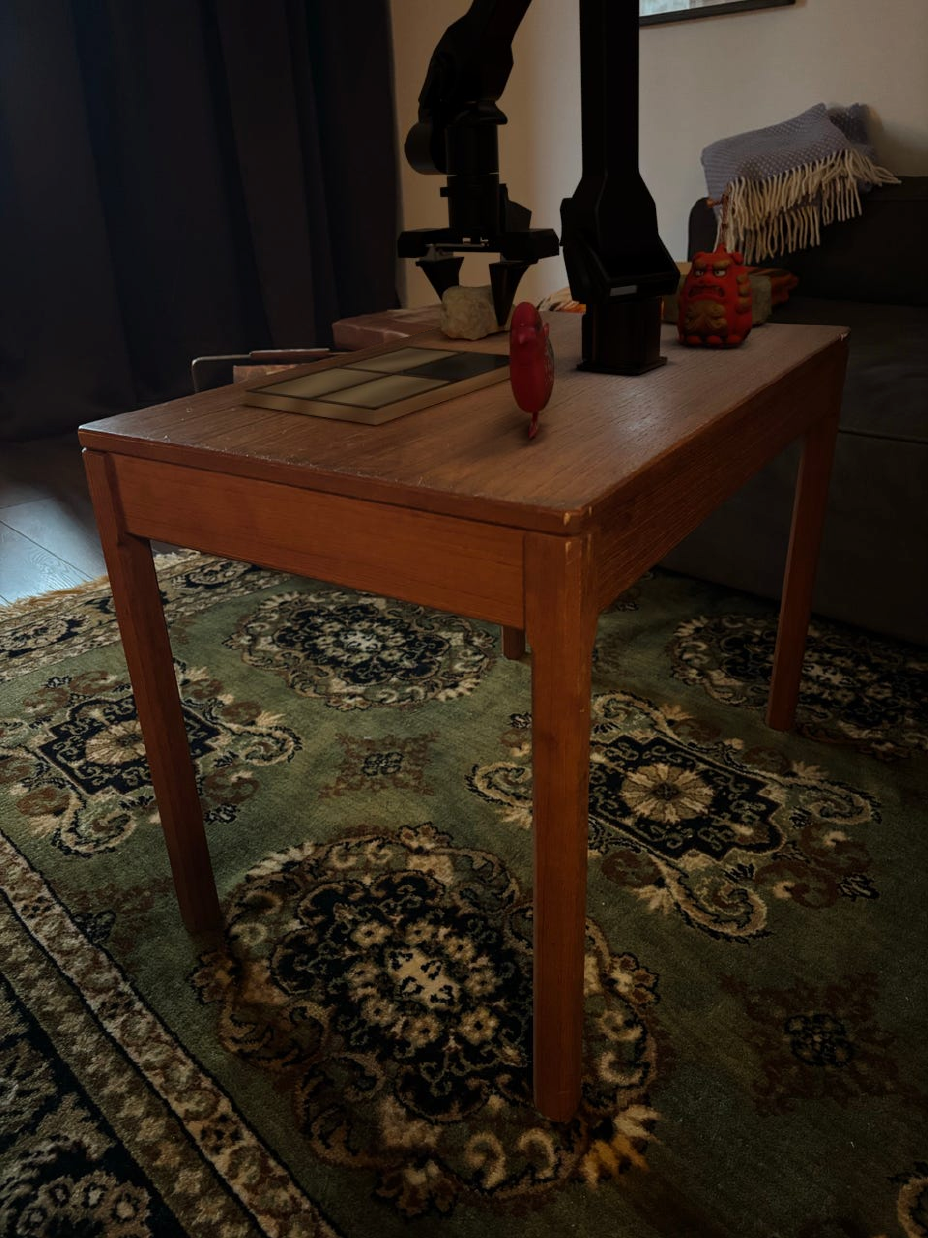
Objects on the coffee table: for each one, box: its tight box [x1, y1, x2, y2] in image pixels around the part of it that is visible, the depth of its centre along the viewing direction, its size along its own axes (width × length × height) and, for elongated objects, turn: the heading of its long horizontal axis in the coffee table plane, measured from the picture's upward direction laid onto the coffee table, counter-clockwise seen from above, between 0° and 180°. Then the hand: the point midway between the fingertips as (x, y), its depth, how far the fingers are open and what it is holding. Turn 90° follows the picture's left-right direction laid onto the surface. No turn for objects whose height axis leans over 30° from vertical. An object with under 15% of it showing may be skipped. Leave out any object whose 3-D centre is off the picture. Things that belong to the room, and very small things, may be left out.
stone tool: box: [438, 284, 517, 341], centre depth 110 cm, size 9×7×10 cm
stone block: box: [662, 273, 773, 325], centre depth 109 cm, size 6×12×5 cm, turn 57°
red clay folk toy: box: [676, 182, 754, 348], centre depth 96 cm, size 8×7×15 cm
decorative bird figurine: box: [508, 301, 555, 440], centre depth 71 cm, size 3×18×10 cm, turn 170°
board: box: [245, 345, 510, 426], centre depth 87 cm, size 15×22×1 cm
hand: (478, 324), depth 111 cm, fingers closed on stone tool, 6 cm apart
